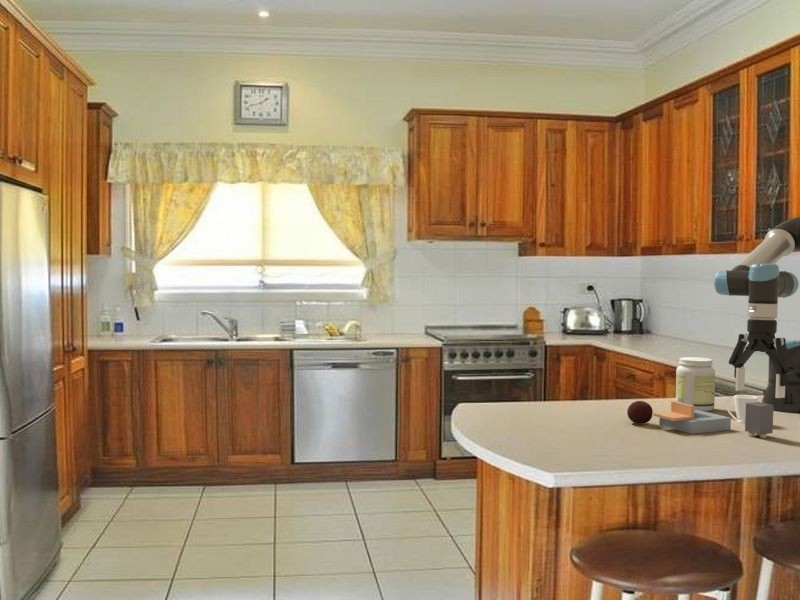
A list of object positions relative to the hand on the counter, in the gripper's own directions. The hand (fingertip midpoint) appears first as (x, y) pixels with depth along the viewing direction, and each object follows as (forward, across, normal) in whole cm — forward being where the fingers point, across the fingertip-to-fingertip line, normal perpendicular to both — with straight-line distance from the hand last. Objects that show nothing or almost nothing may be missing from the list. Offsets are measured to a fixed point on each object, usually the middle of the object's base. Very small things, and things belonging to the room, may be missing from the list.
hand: (759, 394), depth 216 cm
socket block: (+12, -16, -8) cm, 21 cm away
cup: (+12, -17, +12) cm, 24 cm away
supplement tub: (+12, -38, +14) cm, 42 cm away
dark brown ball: (+12, -26, -20) cm, 35 cm away
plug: (+12, 0, 0) cm, 12 cm away
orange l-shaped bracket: (+9, -16, -16) cm, 24 cm away
